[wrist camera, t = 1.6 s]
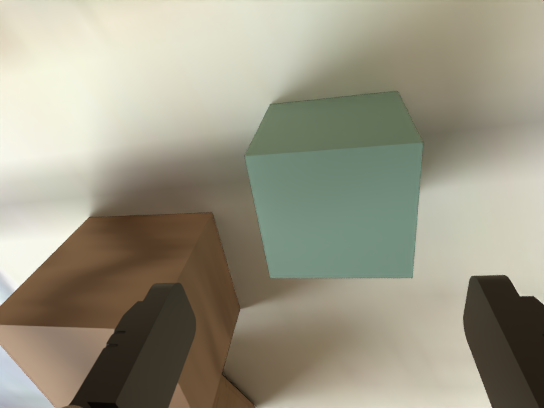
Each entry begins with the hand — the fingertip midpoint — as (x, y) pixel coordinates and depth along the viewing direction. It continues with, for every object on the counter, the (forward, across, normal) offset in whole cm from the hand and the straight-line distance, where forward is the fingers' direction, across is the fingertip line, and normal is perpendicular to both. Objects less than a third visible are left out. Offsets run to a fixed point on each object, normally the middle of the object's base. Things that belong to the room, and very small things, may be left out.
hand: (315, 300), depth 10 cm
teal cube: (+9, -1, 0) cm, 9 cm away
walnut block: (+9, +10, +6) cm, 15 cm away
